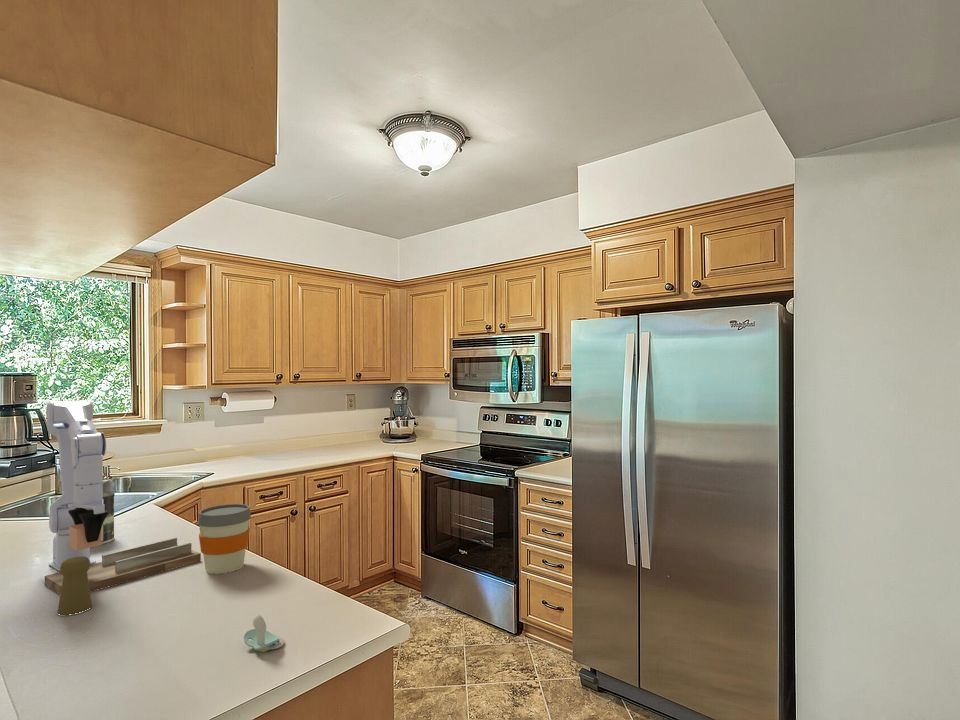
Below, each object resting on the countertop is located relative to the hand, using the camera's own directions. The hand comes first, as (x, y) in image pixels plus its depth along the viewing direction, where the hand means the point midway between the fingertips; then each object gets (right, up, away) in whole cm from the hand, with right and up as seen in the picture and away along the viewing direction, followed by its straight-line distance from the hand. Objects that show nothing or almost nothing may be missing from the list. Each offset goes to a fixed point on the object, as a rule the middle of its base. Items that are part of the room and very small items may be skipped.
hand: (88, 539), depth 132 cm
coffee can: (-22, -12, +33) cm, 41 cm away
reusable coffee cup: (+29, -11, +9) cm, 32 cm away
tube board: (+5, -11, +7) cm, 13 cm away
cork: (+9, -10, -16) cm, 21 cm away
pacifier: (+56, -9, -32) cm, 65 cm away
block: (0, -1, 0) cm, 2 cm away
